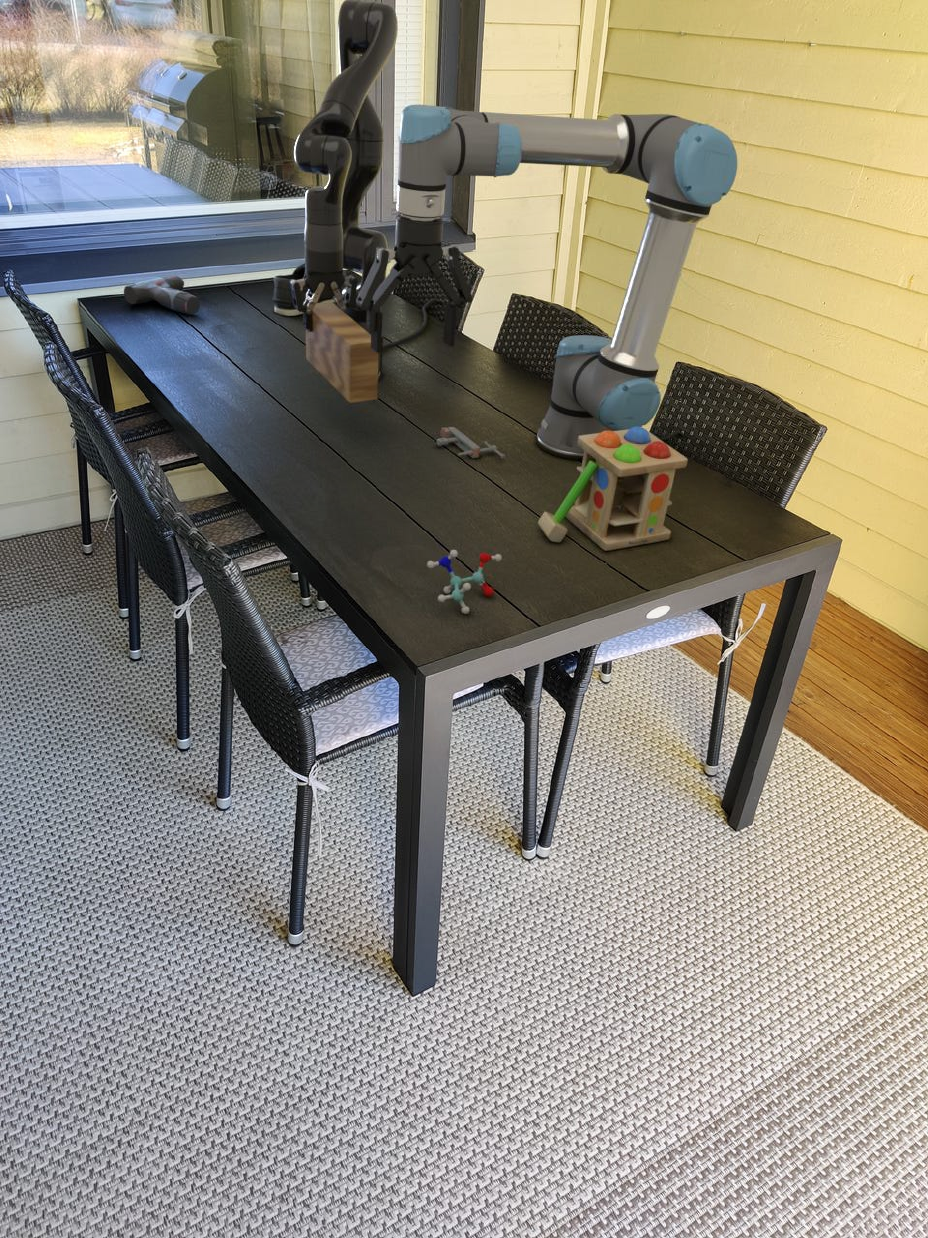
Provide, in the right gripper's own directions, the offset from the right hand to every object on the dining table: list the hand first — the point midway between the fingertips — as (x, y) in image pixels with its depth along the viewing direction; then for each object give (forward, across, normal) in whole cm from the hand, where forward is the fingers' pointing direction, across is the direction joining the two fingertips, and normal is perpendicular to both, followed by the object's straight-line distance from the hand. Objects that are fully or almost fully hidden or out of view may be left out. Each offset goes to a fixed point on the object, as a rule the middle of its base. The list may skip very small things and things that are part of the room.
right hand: (412, 346), depth 167 cm
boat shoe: (+28, +24, +116) cm, 122 cm away
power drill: (+28, -13, +120) cm, 124 cm away
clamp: (+28, +20, +14) cm, 38 cm away
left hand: (+10, -1, +42) cm, 43 cm away
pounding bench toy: (+28, +28, -23) cm, 46 cm away
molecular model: (+28, -6, -35) cm, 45 cm away
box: (+18, 0, +33) cm, 37 cm away
